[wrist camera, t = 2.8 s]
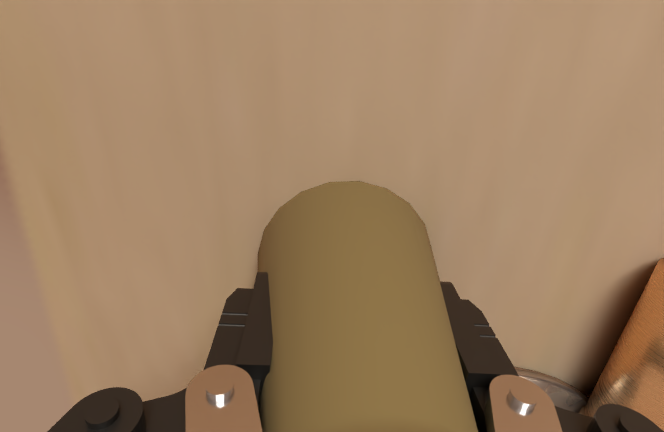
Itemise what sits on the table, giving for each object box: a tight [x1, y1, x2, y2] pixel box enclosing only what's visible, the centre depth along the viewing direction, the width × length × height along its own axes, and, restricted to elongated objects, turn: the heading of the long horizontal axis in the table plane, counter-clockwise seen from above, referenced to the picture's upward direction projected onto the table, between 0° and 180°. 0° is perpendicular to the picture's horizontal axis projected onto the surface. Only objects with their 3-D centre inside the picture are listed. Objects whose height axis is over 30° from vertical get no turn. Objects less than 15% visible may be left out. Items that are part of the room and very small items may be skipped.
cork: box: [258, 181, 478, 432], centre depth 9 cm, size 6×6×11 cm
